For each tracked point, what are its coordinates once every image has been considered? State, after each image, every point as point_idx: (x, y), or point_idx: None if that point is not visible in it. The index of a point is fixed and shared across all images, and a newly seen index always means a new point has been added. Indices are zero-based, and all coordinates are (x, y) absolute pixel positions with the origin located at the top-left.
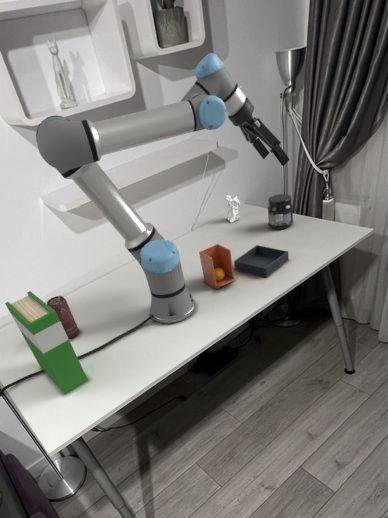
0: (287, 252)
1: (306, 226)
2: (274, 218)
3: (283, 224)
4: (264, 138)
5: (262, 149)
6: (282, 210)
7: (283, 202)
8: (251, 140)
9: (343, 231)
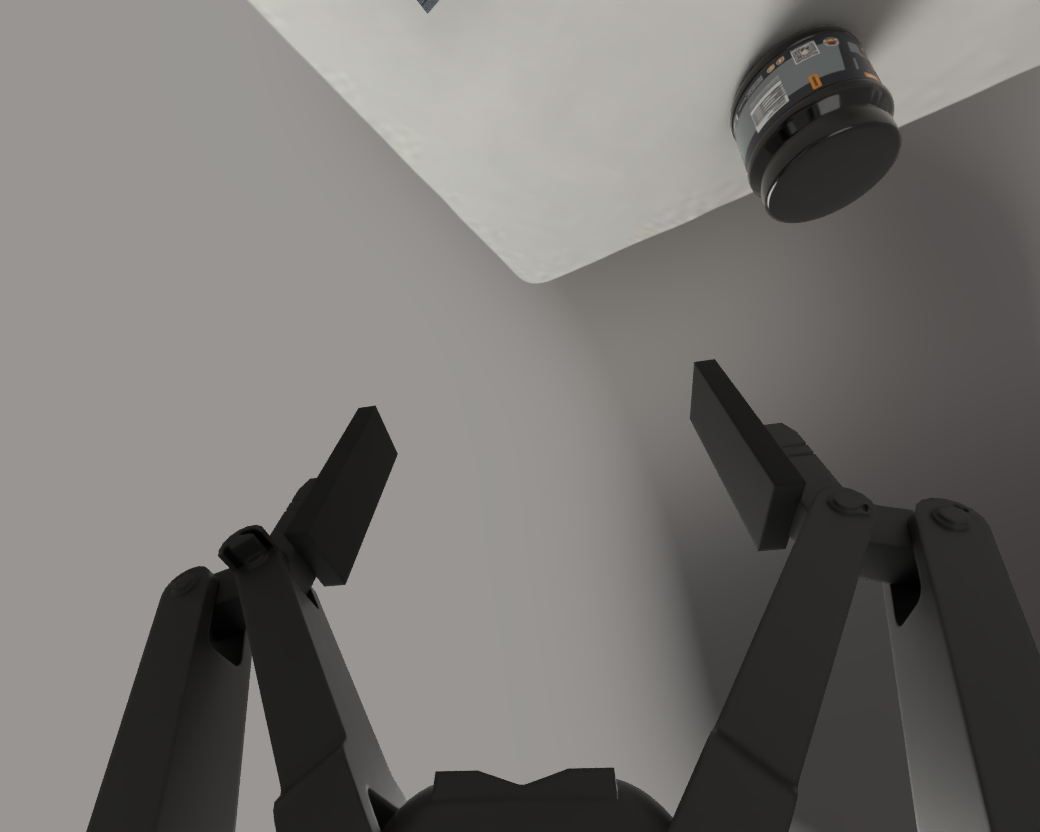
0: (422, 5)
1: (680, 173)
2: (792, 79)
3: (743, 100)
4: (138, 739)
5: (716, 439)
6: (762, 145)
7: (772, 178)
8: (794, 545)
9: (561, 246)
